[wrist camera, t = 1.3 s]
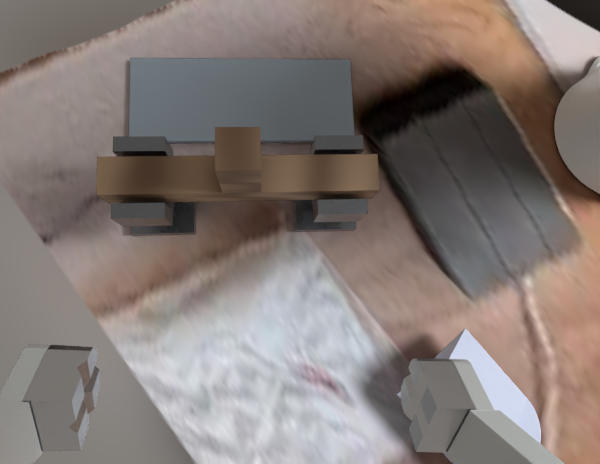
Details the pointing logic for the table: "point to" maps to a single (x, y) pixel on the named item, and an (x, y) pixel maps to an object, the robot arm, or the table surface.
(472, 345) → the white wedge
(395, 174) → the table surface
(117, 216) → the hook posts
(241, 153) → the walnut rail
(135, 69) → the slate mat
